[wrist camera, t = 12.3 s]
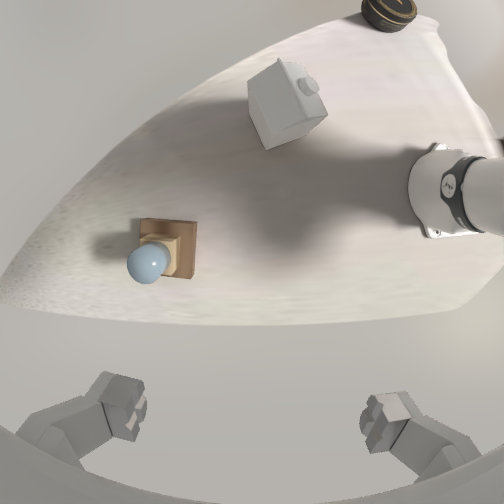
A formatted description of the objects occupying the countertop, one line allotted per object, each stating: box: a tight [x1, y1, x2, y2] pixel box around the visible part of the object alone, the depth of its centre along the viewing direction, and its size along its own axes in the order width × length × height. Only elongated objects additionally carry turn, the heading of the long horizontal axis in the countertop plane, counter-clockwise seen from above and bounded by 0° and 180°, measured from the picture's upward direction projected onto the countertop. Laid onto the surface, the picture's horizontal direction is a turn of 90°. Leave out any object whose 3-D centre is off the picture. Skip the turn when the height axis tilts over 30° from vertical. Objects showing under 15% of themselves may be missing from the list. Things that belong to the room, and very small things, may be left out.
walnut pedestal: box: [140, 218, 197, 279], centre depth 46 cm, size 9×9×3 cm
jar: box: [361, 0, 417, 33], centre depth 33 cm, size 10×10×8 cm
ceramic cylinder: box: [127, 241, 171, 284], centre depth 37 cm, size 5×5×5 cm
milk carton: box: [247, 58, 328, 150], centre depth 33 cm, size 7×7×19 cm
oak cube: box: [140, 233, 180, 276], centre depth 42 cm, size 5×5×5 cm
